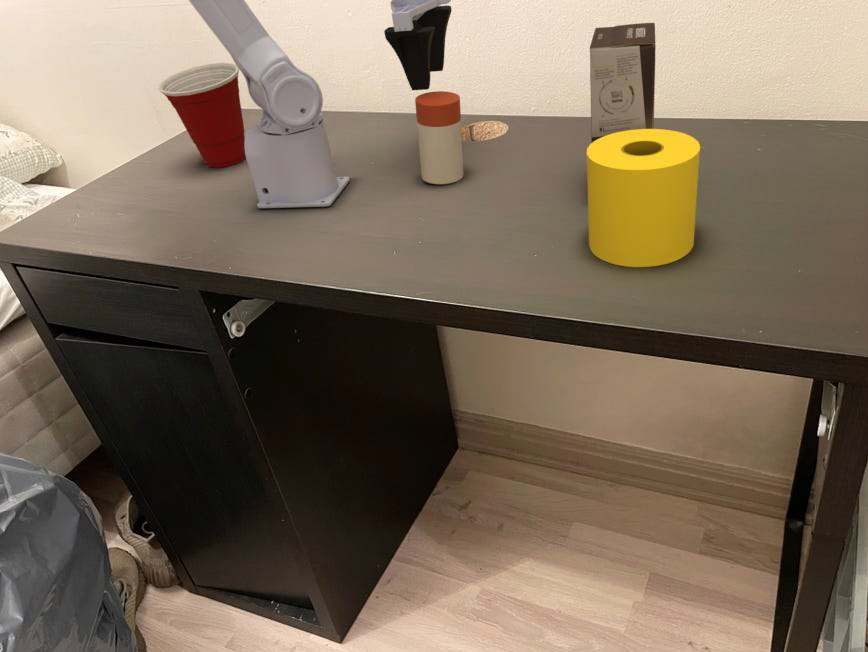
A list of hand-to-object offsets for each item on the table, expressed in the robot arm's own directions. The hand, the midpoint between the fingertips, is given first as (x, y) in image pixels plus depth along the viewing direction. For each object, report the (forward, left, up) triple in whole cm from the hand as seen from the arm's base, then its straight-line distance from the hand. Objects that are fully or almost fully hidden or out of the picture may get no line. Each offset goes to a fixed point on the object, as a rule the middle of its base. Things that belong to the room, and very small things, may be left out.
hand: (428, 79), depth 91 cm
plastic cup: (-32, +2, -10) cm, 34 cm away
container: (+2, -7, -10) cm, 12 cm away
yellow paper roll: (+26, -25, -10) cm, 37 cm away
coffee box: (+24, -11, -10) cm, 28 cm away
